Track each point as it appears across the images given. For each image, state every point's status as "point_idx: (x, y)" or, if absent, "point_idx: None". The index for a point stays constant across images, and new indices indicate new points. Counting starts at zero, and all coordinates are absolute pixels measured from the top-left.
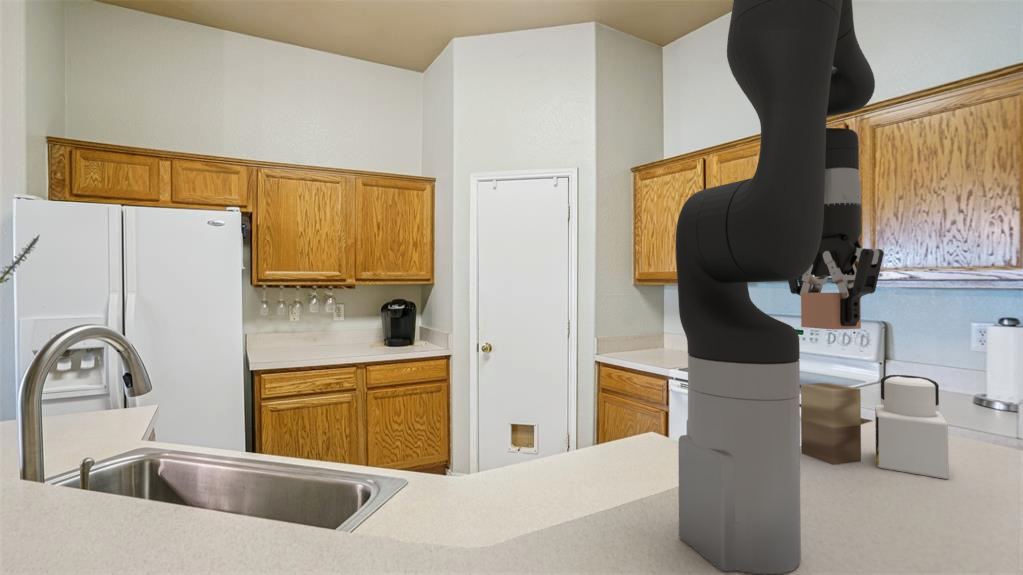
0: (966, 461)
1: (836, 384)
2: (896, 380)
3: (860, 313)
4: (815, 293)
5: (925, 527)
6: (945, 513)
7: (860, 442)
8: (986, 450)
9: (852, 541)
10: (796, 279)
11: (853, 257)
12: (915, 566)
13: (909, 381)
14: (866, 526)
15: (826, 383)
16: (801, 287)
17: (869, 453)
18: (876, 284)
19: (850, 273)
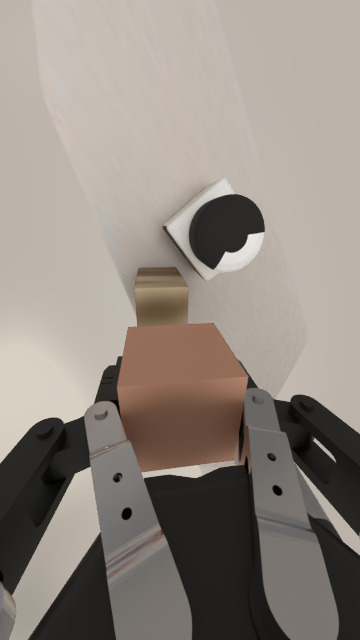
0: (210, 138)
1: (151, 289)
2: (231, 268)
3: (224, 340)
4: (180, 464)
5: (271, 339)
6: (267, 309)
7: (178, 271)
8: (190, 25)
9: (263, 384)
10: (46, 516)
11: (349, 575)
12: (287, 377)
13: (245, 261)
14: (257, 366)
15: (140, 297)
16: (77, 470)
17: (158, 231)
18: (334, 415)
19: (265, 466)
